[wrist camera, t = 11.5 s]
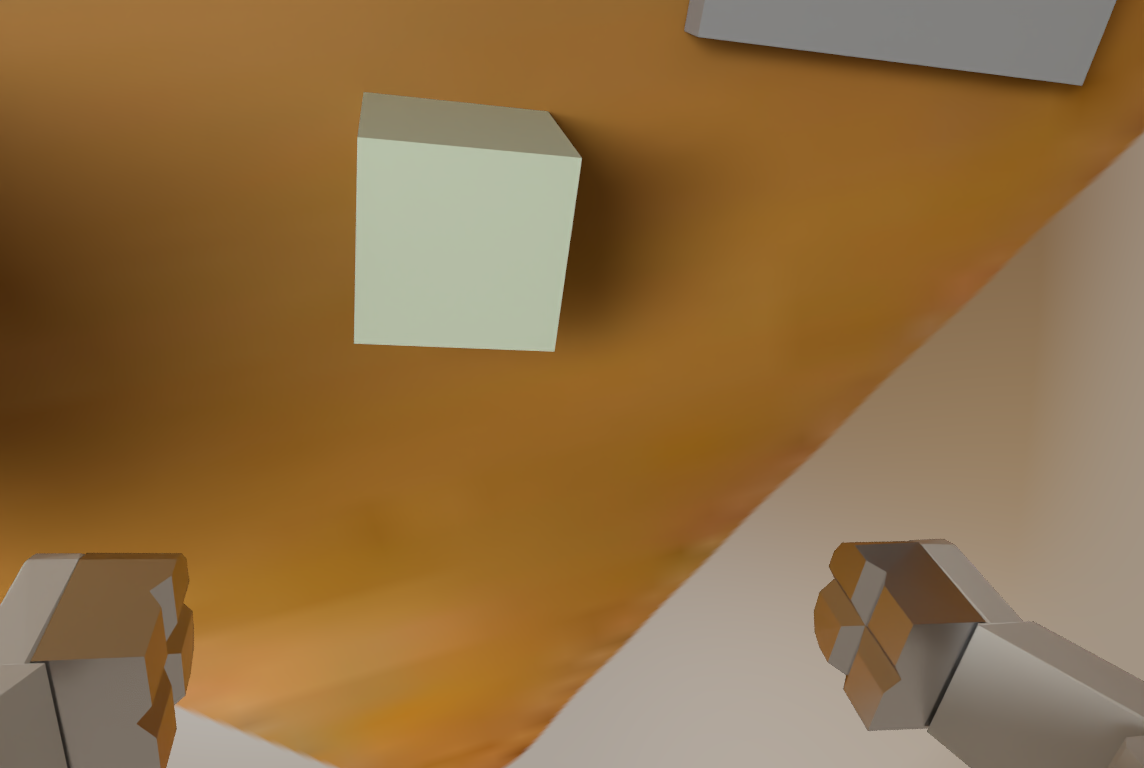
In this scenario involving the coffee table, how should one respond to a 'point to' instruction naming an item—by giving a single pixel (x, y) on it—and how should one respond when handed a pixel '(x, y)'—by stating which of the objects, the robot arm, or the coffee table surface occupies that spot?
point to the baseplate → (922, 31)
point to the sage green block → (461, 224)
